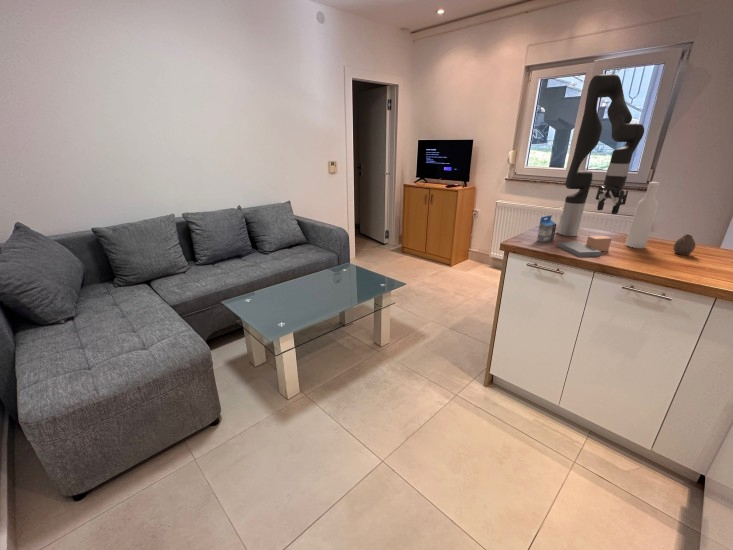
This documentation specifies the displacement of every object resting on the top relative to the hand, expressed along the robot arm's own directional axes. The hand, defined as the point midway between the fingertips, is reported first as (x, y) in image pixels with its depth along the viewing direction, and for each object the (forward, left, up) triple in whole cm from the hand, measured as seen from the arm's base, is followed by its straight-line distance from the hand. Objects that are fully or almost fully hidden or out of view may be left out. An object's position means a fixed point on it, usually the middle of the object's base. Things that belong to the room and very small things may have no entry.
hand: (606, 212), depth 149 cm
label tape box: (-18, -14, -18) cm, 29 cm away
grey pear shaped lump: (+9, +34, -18) cm, 39 cm away
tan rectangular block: (0, 0, -18) cm, 18 cm away
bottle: (-4, +23, -18) cm, 29 cm away
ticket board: (0, -9, -18) cm, 20 cm away
